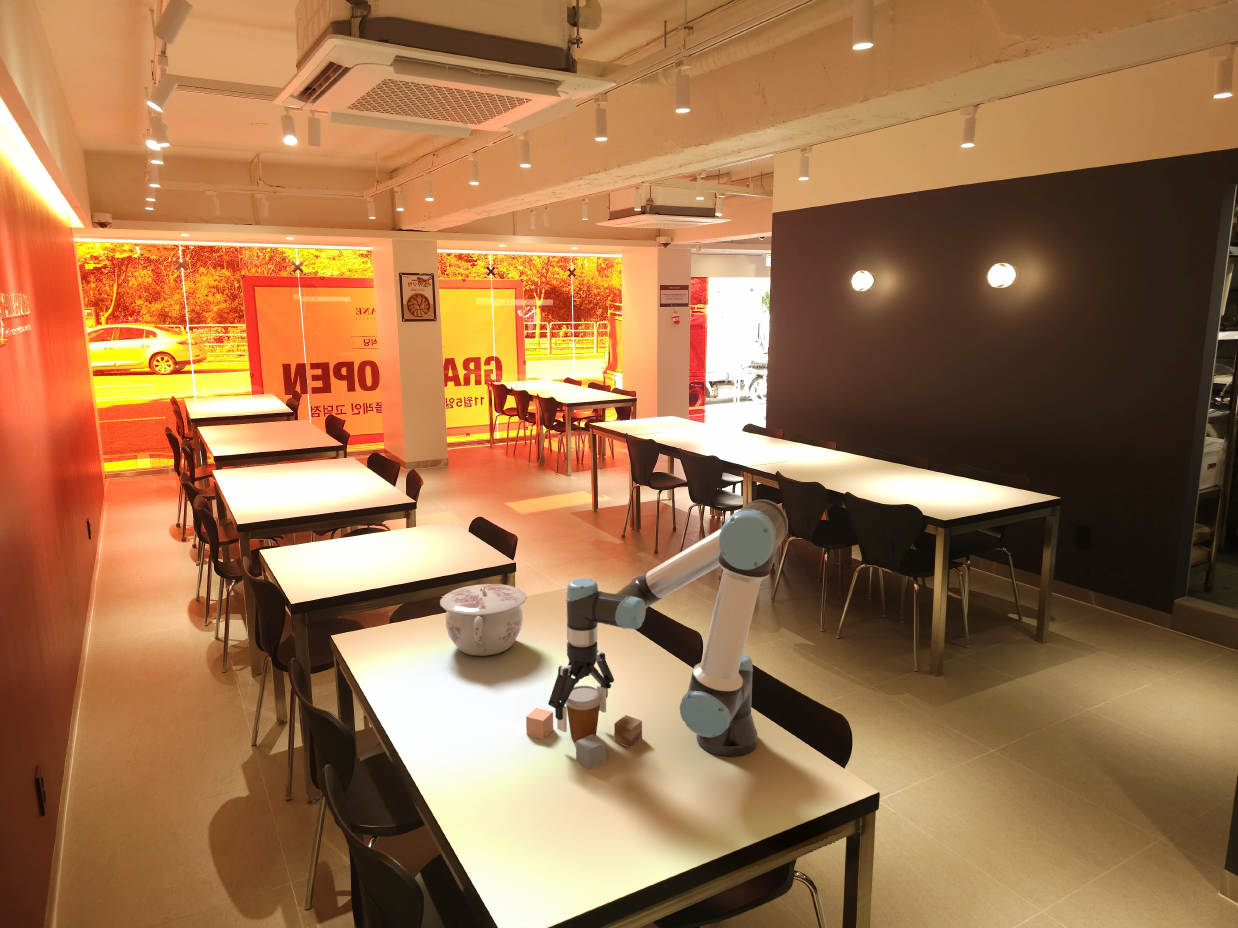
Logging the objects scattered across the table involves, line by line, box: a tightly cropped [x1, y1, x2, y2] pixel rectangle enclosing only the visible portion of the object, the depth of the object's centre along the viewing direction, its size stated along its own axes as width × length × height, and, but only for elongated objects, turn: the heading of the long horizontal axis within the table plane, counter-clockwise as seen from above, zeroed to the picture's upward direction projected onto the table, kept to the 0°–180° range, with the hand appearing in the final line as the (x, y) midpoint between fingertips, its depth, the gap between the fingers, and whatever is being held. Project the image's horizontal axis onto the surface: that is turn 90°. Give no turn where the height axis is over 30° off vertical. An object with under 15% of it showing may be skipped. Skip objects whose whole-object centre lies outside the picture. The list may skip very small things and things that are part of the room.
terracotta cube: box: [525, 707, 554, 739], centre depth 198 cm, size 5×5×5 cm
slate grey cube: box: [575, 734, 606, 770], centre depth 185 cm, size 5×5×5 cm
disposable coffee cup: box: [565, 684, 602, 743], centre depth 195 cm, size 10×10×12 cm
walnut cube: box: [613, 714, 643, 748], centre depth 194 cm, size 5×5×5 cm
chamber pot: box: [439, 583, 528, 657], centre depth 248 cm, size 28×28×21 cm
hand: (582, 719), depth 195 cm, fingers open, 13 cm apart
